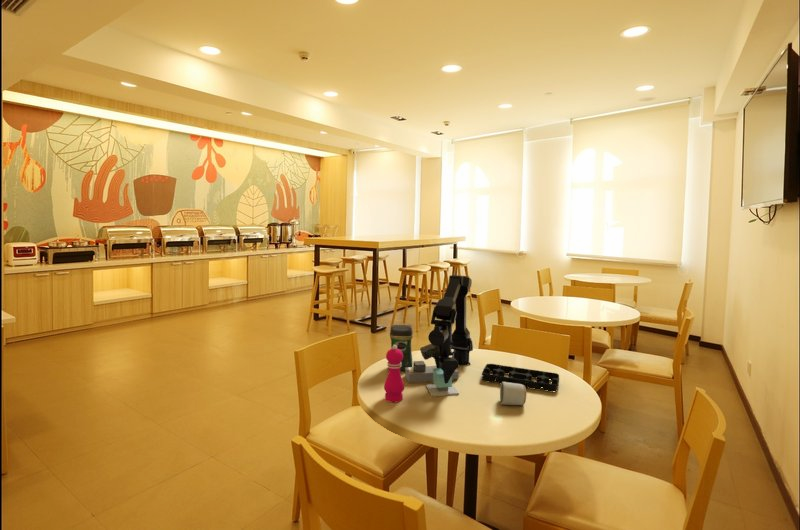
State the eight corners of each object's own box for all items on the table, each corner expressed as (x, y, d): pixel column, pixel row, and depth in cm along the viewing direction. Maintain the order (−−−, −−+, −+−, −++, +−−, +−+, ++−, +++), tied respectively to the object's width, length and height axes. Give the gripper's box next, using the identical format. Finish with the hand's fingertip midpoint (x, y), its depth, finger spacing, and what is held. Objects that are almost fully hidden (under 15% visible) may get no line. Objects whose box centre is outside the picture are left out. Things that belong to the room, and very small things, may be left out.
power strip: (452, 372, 188) (453, 357, 187) (458, 379, 181) (458, 364, 180) (404, 375, 184) (405, 360, 183) (408, 382, 177) (408, 366, 176)
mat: (451, 384, 176) (451, 383, 176) (458, 394, 167) (458, 393, 167) (426, 386, 174) (426, 384, 174) (432, 396, 166) (432, 394, 165)
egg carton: (480, 370, 192) (481, 362, 191) (555, 376, 187) (556, 367, 186) (481, 388, 174) (482, 378, 174) (563, 394, 170) (564, 385, 169)
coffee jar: (412, 364, 196) (413, 322, 193) (412, 372, 188) (413, 328, 185) (390, 364, 196) (390, 322, 193) (388, 371, 188) (389, 327, 186)
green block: (447, 385, 174) (447, 367, 173) (451, 391, 169) (452, 373, 168) (432, 386, 173) (433, 368, 172) (436, 392, 168) (437, 374, 166)
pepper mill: (389, 404, 159) (390, 349, 155) (380, 396, 165) (381, 343, 162) (407, 400, 162) (408, 346, 159) (398, 392, 168) (399, 340, 165)
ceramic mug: (526, 409, 157) (527, 387, 156) (502, 408, 158) (503, 386, 156) (520, 396, 168) (521, 376, 166) (497, 395, 168) (498, 375, 167)
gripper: (416, 331, 175) (415, 369, 178) (428, 347, 157) (427, 390, 160) (444, 329, 177) (443, 368, 180) (459, 345, 159) (458, 388, 162)
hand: (442, 378), depth 170 cm, fingers open, 9 cm apart
